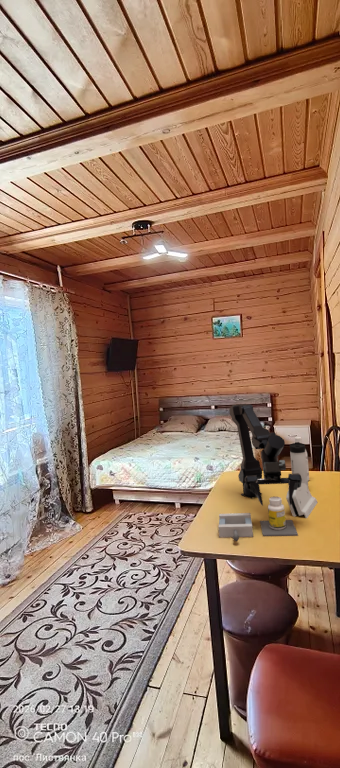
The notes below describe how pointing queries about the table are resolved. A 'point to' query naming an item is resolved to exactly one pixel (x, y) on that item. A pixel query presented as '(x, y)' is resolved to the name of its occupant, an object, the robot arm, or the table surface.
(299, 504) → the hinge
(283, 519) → the supplement bottle
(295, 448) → the travel mug
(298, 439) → the bath foam
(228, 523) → the vise
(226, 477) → the table surface
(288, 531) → the pad
